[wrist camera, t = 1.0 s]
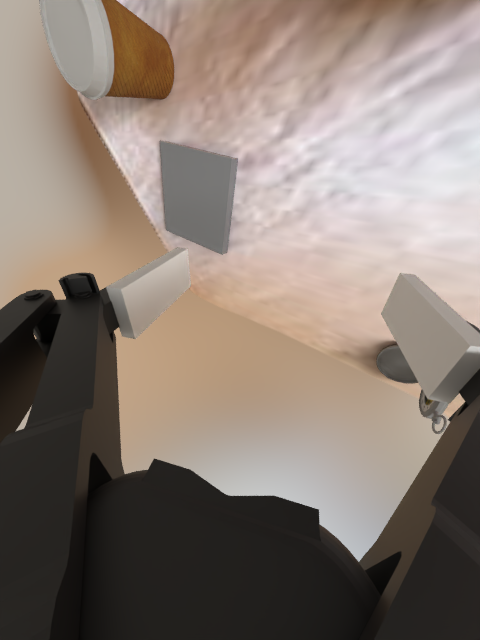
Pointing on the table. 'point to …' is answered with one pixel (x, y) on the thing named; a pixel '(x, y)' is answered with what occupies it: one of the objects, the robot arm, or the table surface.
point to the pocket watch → (400, 371)
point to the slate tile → (198, 194)
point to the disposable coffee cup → (107, 49)
